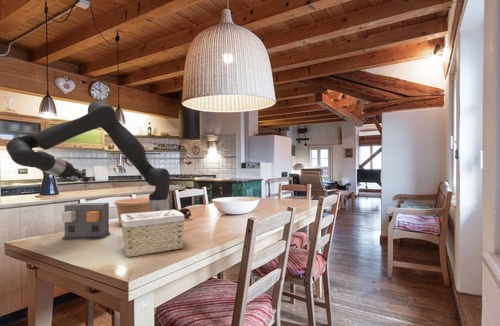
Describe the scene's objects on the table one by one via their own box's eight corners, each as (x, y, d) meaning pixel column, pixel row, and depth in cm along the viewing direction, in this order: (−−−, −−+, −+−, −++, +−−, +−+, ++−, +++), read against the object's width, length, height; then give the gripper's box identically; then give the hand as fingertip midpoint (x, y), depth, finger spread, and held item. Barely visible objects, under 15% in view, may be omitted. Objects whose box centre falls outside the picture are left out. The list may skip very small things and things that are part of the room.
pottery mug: (193, 219, 186) (194, 209, 182) (186, 228, 178) (187, 218, 174) (177, 213, 189) (177, 203, 184) (169, 222, 180) (169, 212, 176)
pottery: (107, 228, 156) (107, 202, 156) (125, 220, 178) (125, 197, 178) (145, 229, 155) (145, 202, 156) (160, 221, 177) (160, 198, 177)
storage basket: (123, 259, 106) (123, 219, 106) (119, 248, 120) (119, 213, 120) (186, 249, 118) (186, 214, 118) (175, 240, 132) (175, 208, 132)
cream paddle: (68, 220, 136) (68, 210, 136) (76, 219, 136) (76, 210, 136) (61, 222, 131) (61, 212, 131) (70, 222, 131) (70, 212, 131)
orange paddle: (92, 219, 136) (92, 210, 136) (100, 219, 137) (100, 210, 137) (86, 221, 131) (86, 212, 131) (95, 221, 132) (95, 212, 132)
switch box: (72, 235, 142) (72, 203, 142) (110, 234, 143) (110, 202, 144) (62, 239, 134) (62, 205, 134) (102, 238, 135) (102, 205, 135)
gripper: (72, 156, 121) (100, 170, 136) (45, 161, 123) (76, 174, 139) (69, 173, 118) (98, 185, 133) (42, 177, 120) (74, 189, 136)
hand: (87, 180), depth 136 cm, fingers closed
